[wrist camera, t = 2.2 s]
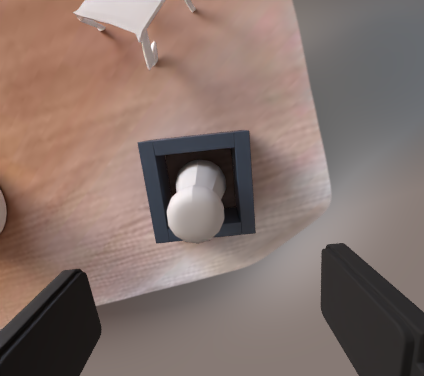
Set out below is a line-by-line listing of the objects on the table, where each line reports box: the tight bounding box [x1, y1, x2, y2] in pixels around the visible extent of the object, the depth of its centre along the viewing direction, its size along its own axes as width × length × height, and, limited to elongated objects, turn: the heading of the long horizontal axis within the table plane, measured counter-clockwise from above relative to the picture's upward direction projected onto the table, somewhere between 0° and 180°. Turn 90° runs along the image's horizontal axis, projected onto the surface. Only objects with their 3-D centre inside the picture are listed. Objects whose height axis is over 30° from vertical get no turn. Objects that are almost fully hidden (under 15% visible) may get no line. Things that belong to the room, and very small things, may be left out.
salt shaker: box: [167, 159, 226, 243], centre depth 22 cm, size 6×6×13 cm
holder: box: [138, 130, 256, 243], centre depth 26 cm, size 11×11×5 cm
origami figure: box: [73, 0, 196, 70], centre depth 22 cm, size 12×8×5 cm
